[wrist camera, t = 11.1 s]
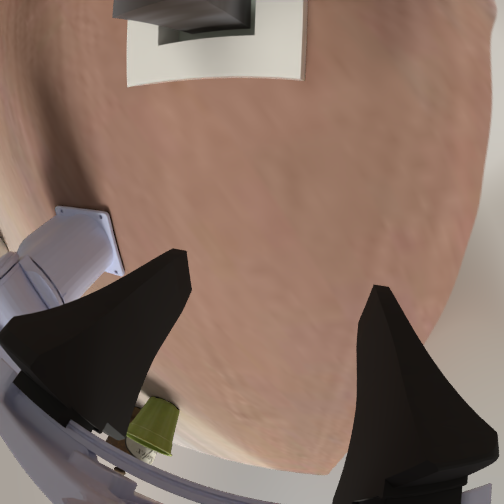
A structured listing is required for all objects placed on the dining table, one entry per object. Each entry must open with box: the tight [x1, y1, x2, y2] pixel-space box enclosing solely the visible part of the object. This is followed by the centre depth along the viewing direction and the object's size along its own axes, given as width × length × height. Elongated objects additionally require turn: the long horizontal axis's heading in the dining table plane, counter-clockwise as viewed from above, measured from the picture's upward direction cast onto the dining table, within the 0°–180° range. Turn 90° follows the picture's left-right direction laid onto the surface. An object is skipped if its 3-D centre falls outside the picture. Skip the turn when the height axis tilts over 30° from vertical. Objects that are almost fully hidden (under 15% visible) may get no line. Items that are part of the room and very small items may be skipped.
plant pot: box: [126, 397, 179, 456], centre depth 47 cm, size 12×12×11 cm
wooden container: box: [106, 407, 157, 475], centre depth 58 cm, size 15×15×22 cm
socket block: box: [127, 0, 308, 87], centre depth 11 cm, size 11×11×3 cm
